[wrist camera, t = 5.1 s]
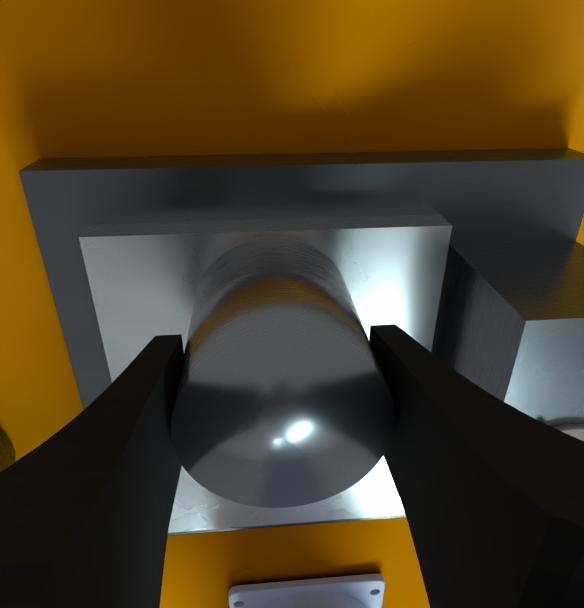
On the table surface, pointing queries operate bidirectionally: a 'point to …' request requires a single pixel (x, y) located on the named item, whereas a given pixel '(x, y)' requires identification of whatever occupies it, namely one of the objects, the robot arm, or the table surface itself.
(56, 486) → the robot arm
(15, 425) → the table surface
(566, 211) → the dial scale
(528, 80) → the table surface
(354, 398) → the cylinder
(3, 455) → the cylinder
